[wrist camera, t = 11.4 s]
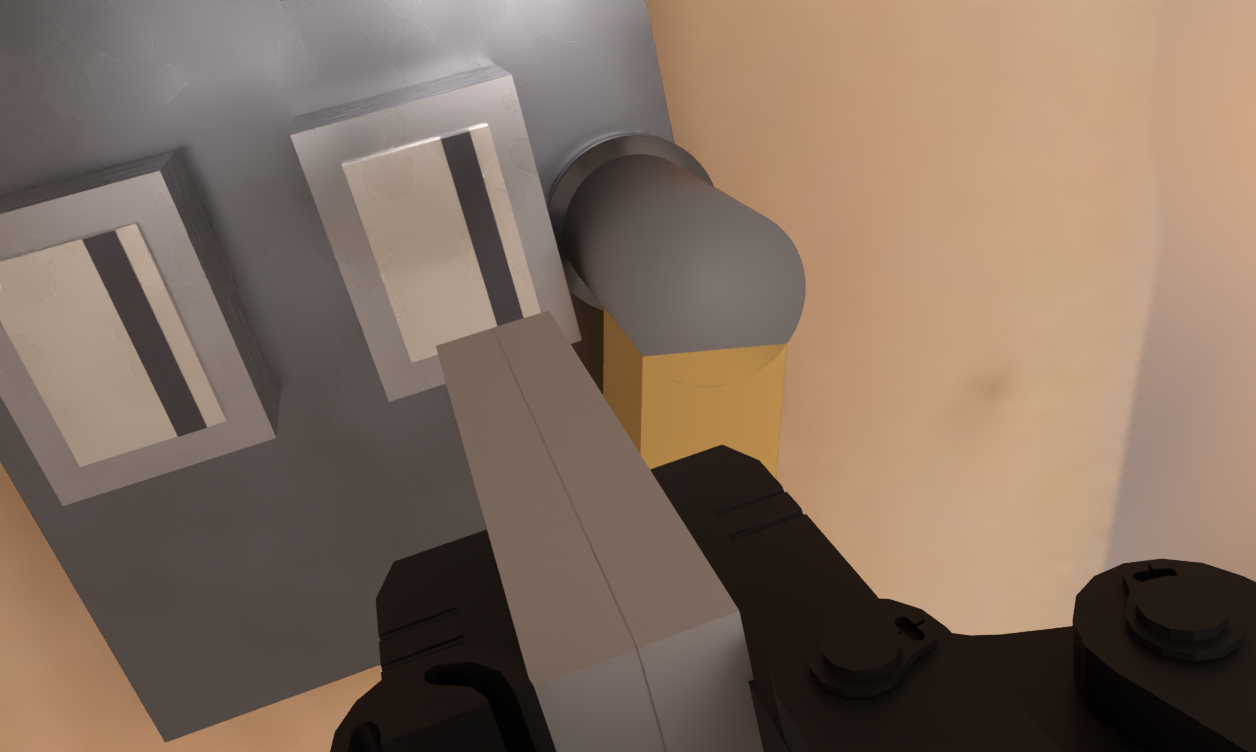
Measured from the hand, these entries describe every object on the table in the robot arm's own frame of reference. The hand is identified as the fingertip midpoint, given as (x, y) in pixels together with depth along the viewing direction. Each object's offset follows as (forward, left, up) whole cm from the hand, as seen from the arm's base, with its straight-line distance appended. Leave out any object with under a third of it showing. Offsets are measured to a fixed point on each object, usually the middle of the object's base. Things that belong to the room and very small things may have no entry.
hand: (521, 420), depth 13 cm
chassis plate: (+1, -2, -12) cm, 13 cm away
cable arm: (+9, +3, -11) cm, 14 cm away
